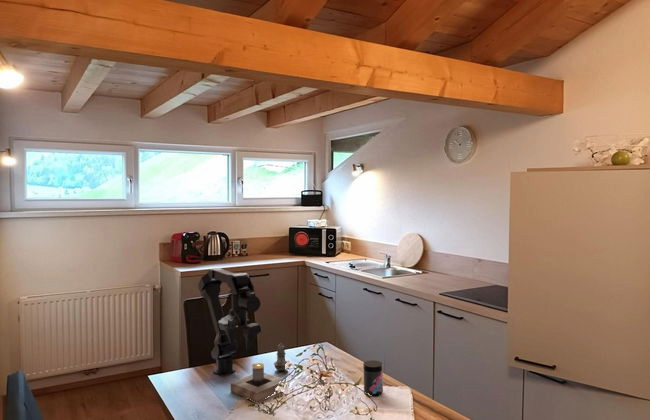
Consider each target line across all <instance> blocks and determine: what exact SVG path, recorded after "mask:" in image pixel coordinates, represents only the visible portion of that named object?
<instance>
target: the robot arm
mask: <svg viewBox="0 0 650 420" xmlns="http://www.w3.org/2000/svg"><path fill="white" fill-rule="evenodd" d="M223 283H224V284H227V288H229V289H230V290H229V292H228V293H229V294H230V295H231V309H228V310H229V311H228V314H227V315H226V316H225V314H224V310H223V305H222V303H221V300H220V295H221V294H220V293H221V291H222V288H221V286H222V285H223ZM254 287H255V286H254V284H253V282H252V280H251V278H250V275H249V274H248V273H247V272H232V271H228V270H226V269H223V268H222V267H216V268H211V269H208V271H207V273H206V274H204V275H203V276H202V277H201V278H200V280H199V282H198V284H197V288H198V290H199V292H200V295H201V297H202V298H204V299H205V301H207V305H208V309H209V312H210V317H211V321H212V324H213V327H214V331H215V334H216V336H215V339H214V341H213V343H214V347H213V348H212V350H211V351H210V352H211V353H210V354H211V358H212V359H213V360H215V361H216V362H215V364H216V365H215V366H216V369H215V370H213V371H212V372H213V373H215V374H217V375H220V376H223V377H224V376H227V375H229V374H232V373H234V372H236V371H237V370H236V369H235V368H234V367H233V365H234V362H233V357H235V356H237V353H238V348H239V344H238V341H237V338H236V334H237V328H238V329H242V336H243V337H244V339H245V349H246V350H245V351H248V352H249V351H250V349H251V347H252V346H253V344H254V341H255V338H256V337H257V335H259V334H260V333H262V328H263V327H262V325H261V324H260V323H255V322H252V323H250V321H251V320H250V319H249V318H248V313H249V312H250V313H255V312H257V311H258V310H259V309H260V308H261V300H260V299H259V297H257V296H256V292H255V289H254ZM248 323H249V324H248Z"/></svg>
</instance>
